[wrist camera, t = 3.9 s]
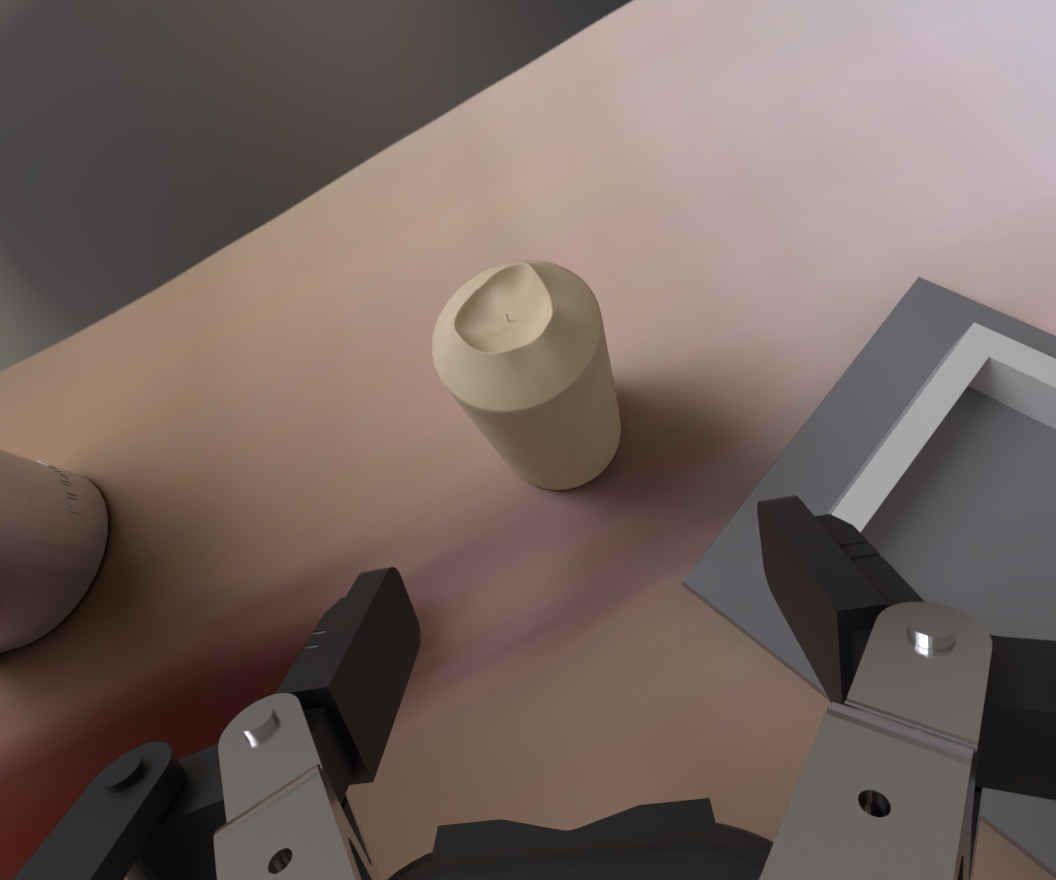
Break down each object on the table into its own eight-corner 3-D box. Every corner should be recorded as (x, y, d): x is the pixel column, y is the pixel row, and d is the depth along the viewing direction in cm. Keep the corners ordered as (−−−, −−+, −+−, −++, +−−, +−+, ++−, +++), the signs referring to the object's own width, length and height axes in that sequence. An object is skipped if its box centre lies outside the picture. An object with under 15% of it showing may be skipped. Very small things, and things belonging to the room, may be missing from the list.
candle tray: (1172, 969, 15) (1281, 1035, 13) (682, 584, 22) (684, 573, 19) (1420, 520, 18) (1558, 493, 15) (909, 291, 24) (940, 244, 21)
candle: (539, 361, 27) (474, 209, 18) (643, 406, 25) (631, 258, 16) (479, 459, 26) (378, 348, 17) (584, 513, 24) (533, 421, 15)
